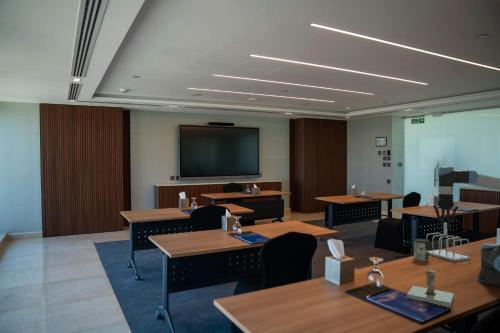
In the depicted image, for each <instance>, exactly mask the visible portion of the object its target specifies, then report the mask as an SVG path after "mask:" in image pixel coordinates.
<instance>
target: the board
mask: <svg viewBox="0 0 500 333" xmlns="http://www.w3.org/2000/svg"><path fill="white" fill-rule="evenodd" d="M407 298H411V299H416V300H421V301H426V302H429V303H428V304H430V303H433V304H432V305H435V304H437V305H436V306H440V305H441V307H444V306H445V308H449V307H450V308H451V307H452V304H453V301H454V299H455V293H454V292H449V291H443V290H438V289H434V296H432V295H427V287H422V286H417V285H412V287H411V288H410V290H409V291H408V292H407V294H406V299H407ZM411 299H410V300H411ZM416 300H415V301H416ZM421 301H420V302H421Z"/></svg>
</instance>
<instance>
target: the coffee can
mask: <svg viewBox="0 0 500 333" xmlns="http://www.w3.org/2000/svg"><path fill="white" fill-rule="evenodd" d="M429 251H430V240H429V239H427V240H426V239H425V238H414V239H413V259H414V260H415V261H419V262H420V261H421V262H428V260H429V261H430V255H429Z"/></svg>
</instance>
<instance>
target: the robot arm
mask: <svg viewBox="0 0 500 333" xmlns="http://www.w3.org/2000/svg"><path fill="white" fill-rule="evenodd" d="M437 175H438V177H437V178H438V189H437V190H438V191H437V192H438V195H437V196H438V201H437V202H436V204H433V206H432V207H433V209H434V210H435V215H436V218H437V222H439V223H441V229H443V234H444V235H443V236H447V235H448V230H450V224H452V223H453V222H454V220H455V216H456V213H457V210H458V209H459V206H458V205H456V204H455V202H454V194H453V193H454V184H462V185H463V184H464V185H468V186H469V185H470V186H474V187H477V188H483V189H487V190H490V191H495V192H498V193H499V192H500V178H499V177H494V176H489V175H486V174H481V173H478V172H477V171H476V170H474V169H472V170H471V169H467V170H466V169H457V168H454V167H453V166H440V167H439V168H438V174H437ZM439 208H440V210H441V214H440V211H439ZM452 208H453V211H452V214H450V213H451V212H450V211H451V209H452ZM445 212H446V217H445ZM450 215H451V218H450ZM445 218H446V222H445ZM476 279H477V282H479V283H481V284H482V285H483V284H484V285H486V286H491V287H500V243H482V244H481V247H480V270H479V272H478V275H477V278H476Z"/></svg>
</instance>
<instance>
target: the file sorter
mask: <svg viewBox="0 0 500 333" xmlns="http://www.w3.org/2000/svg"><path fill="white" fill-rule="evenodd" d="M429 235H433V236H432V238H431V239H432V240H431V241H432V250H429V256H433V257H436V258H439V259H443V260H447V261H451V262H453V263H454V262H462V261H467V260H468V261H469V260H471V256H470V241H469V239H467V238H461V237H460V236H457V237H455V236H454V235H448V234H447V235H444V233H441V232H433V233H427V234H426V240H428V236H429ZM435 237H439V239H438V249H434V239H435ZM443 238H446V240H445V250H444V249H443V248H442V245H443V244H442V243H443V242H442V241H443ZM449 240H453V242H452V251H449ZM462 241H467V255H463V248H462V246H463V245H462ZM455 242H460V254H459V253H456V246H455V245H456V243H455Z"/></svg>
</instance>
